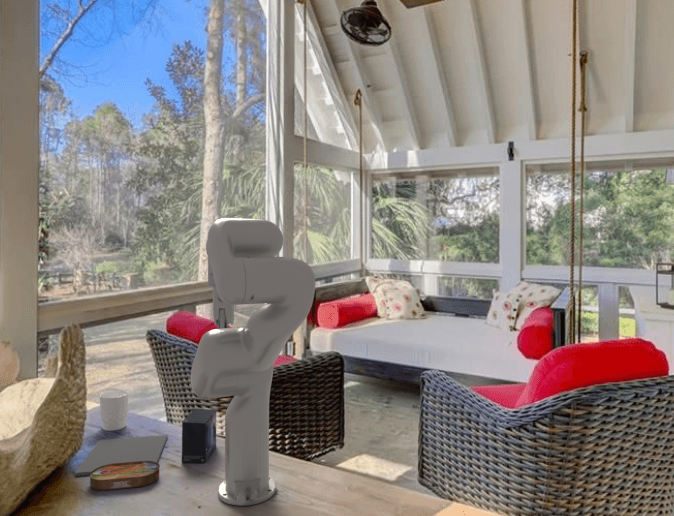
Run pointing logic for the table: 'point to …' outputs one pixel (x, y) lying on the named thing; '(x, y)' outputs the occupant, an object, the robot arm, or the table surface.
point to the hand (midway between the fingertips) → (223, 350)
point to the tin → (124, 475)
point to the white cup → (114, 409)
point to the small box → (198, 436)
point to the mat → (122, 452)
